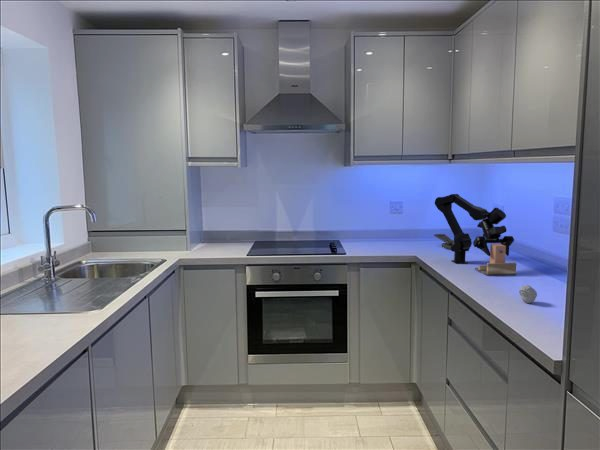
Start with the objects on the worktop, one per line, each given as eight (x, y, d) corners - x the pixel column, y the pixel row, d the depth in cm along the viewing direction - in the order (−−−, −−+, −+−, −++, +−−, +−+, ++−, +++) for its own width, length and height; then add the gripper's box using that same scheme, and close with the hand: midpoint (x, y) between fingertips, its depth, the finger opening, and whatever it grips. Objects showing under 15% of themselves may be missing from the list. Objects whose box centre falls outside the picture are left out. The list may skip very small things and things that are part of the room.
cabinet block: (489, 270, 224) (490, 244, 222) (498, 270, 224) (500, 244, 222) (495, 273, 218) (496, 246, 216) (505, 272, 218) (506, 246, 217)
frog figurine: (514, 302, 175) (515, 284, 174) (525, 299, 178) (526, 282, 178) (529, 306, 170) (530, 288, 169) (540, 303, 173) (541, 285, 172)
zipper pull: (445, 233, 307) (463, 239, 282) (444, 243, 307) (462, 250, 283) (432, 234, 305) (449, 240, 281) (432, 243, 306) (449, 250, 282)
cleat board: (474, 269, 229) (475, 258, 229) (501, 269, 231) (501, 257, 230) (487, 276, 216) (488, 263, 216) (515, 275, 218) (516, 263, 217)
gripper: (477, 220, 221) (487, 246, 212) (513, 219, 223) (525, 245, 214) (468, 233, 230) (478, 259, 221) (504, 233, 232) (514, 258, 222)
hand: (499, 255), depth 219 cm, fingers open, 9 cm apart
